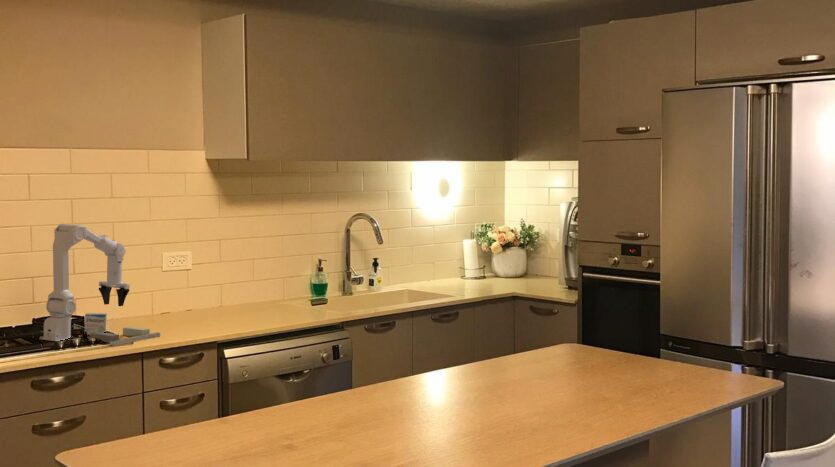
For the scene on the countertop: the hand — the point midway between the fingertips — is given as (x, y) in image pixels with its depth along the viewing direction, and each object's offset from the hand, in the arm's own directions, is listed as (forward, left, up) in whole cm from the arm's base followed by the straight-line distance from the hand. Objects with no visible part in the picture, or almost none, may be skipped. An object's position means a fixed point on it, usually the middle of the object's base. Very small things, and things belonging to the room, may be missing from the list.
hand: (113, 305), depth 374 cm
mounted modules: (-14, -17, -10) cm, 24 cm away
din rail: (-14, -25, -10) cm, 30 cm away
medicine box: (-14, -4, -10) cm, 18 cm away
